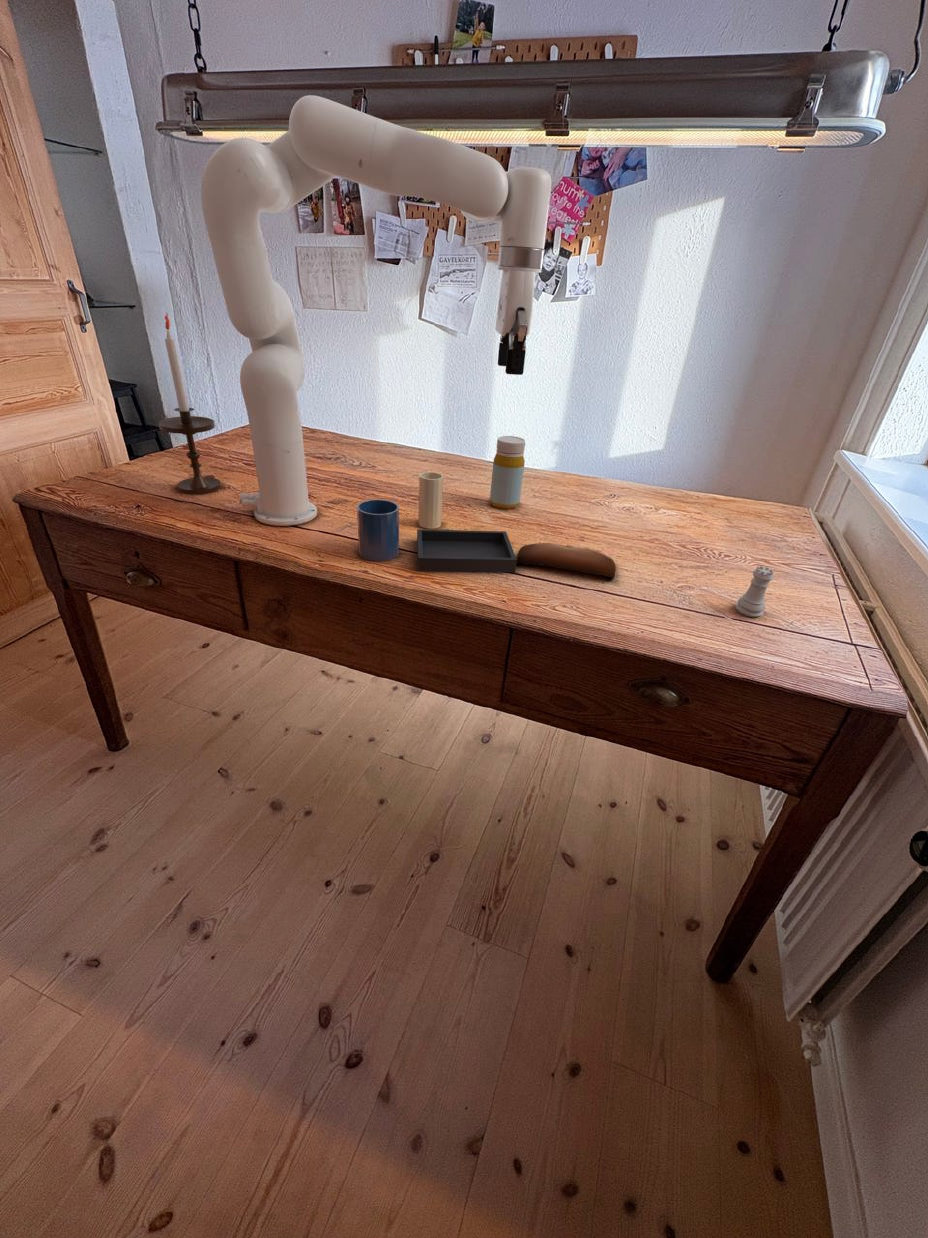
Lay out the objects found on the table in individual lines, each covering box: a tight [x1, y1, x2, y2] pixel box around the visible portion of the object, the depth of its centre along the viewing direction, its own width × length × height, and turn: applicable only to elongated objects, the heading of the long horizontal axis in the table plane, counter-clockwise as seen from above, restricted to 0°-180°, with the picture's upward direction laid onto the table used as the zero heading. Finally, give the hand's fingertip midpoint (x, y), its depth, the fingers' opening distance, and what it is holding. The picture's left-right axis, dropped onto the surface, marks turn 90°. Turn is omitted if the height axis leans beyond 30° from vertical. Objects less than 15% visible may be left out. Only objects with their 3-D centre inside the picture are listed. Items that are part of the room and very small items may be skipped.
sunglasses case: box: [516, 542, 617, 580], centre depth 102 cm, size 18×7×7 cm
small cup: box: [417, 471, 444, 530], centre depth 113 cm, size 5×5×10 cm
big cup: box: [356, 498, 400, 562], centre depth 100 cm, size 7×7×9 cm
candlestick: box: [158, 312, 222, 495], centre depth 115 cm, size 11×11×35 cm
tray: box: [416, 528, 517, 573], centre depth 103 cm, size 18×13×3 cm
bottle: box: [489, 435, 526, 510], centre depth 124 cm, size 7×7×15 cm
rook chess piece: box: [735, 565, 775, 618], centre depth 91 cm, size 4×4×8 cm
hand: (509, 369), depth 103 cm, fingers open, 9 cm apart
